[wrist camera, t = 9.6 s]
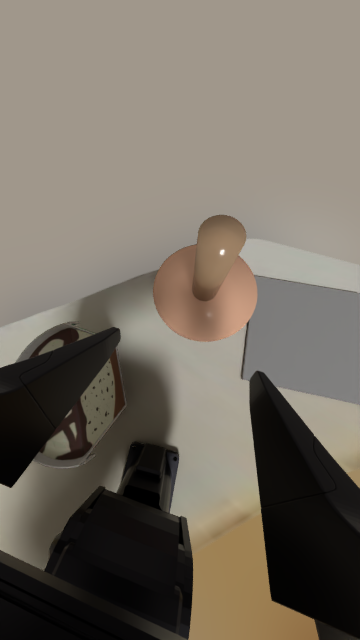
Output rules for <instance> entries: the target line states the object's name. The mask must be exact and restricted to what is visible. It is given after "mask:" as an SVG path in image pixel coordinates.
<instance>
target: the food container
mask: <svg viewBox="0 0 360 640" xmlns="http://www.w3.org/2000/svg"><path fill="white" fill-rule="evenodd" d="M79 323H80V322H67V323H63V324H60V325H57V326H55V327H53V328H51V329H49V330H47V331H45V332H44V333H42V334H41V335H39V336H38V337H37V338H36V339H34V340H33V341H32V342H31V343H30V344H29V345H28V346H27V347H26V348H25V350H24V351H23V352H22V353H21V355H20V356H19V358H18V359H17V361H16V362H15V363H17V362H20V361H23V360H26V359H29V358H32V357H35V356H38V355H41V354H44V353H46V352H49V351H52V350H54V349H57V348H60V347H62V346H65V345H68V344H70V343H73V342H75V341H78V340H81V339H83V338H86V337H89V336H91V335H94V334H96V333H93V332H90V331H87V330H85V329H82V328H79V327H76V326H74V325H76V324H79ZM126 406H127V403H126V397H125V391H124V385H123V379H122V373H121V367H120V361H119V356H118V350H117V347H116V348H115V350H114V352H113V353H112V355H111V357H110V358H109V360H108V361H107V363H106V364H105V365H104V367H103V368H102V369H101V371H100V372H99V373H98V375H97V376H96V377H95V378H94V380H93V381H92V382H91V384H90V385H89V386H88V388H87V389H86V390H85V392H84V393H83V394H82V396H81V397H80V398H79V400H78V401H77V402H76V404H75V405H74V406H73V408H72V409H71V410H70V411H69V413H68V414H67V415H66V417H65V418H64V419H63V421H62V422H61V423H60V425H59V426H58V427H57V429H55V431H54V433H53V434H52V435H51V437H50V438H49V439H48V441H47V442H46V443H45V445H44V446H43V447H42V449H41V450H40V451H39V453H38V454H37V455H36V457H35V458H34V459H33V461H35V462H37V463H39V464H41V465H44V466H47V467H52V468H73V467H78V466H80V465H82V464H86V463H87V462H88V461H90V460H91V459H92V458H94V457H95V456H96V454H91V455H89V454H90V453H91V451H92V450H93V449H94V448H95V446H96V445H97V444H98V442H99V441H100V440H101V439H102V437H103V436H104V435H105V433H106V432H107V431H108V429H109V428H110V427H111V426H112V424H113V423H114V422H115V420H116V419H117V418H118V416H119V415H120V414H121V413H122V411H123V410H124V409H125V407H126Z"/></svg>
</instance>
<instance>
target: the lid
mask: <svg viewBox="0 0 360 640" xmlns="http://www.w3.org/2000/svg"><path fill="white" fill-rule="evenodd" d="M245 241H246V231H245V229H244V227H243V225H242V224H241V223H240V222H239V221H238V220H237V219H235V218H233V217H231V216H227V215H216V216H212V217H210V218H208V219H207V220H205V221H204V222H203V223H202V225H201V226H200V228H199V231H198V239H197V244H196V245H191V246H188V247H185V248H182V249H180V250H178V251H177V252H175V253H173V254H172V255H171V256H170V257H168V259H166V260H165V261H164V263H163V264H162V266H161V267H160V269H159V270H158V272H157V275H156V277H155V281H154V287H153V297H154V302H155V306H156V309H157V311H158V313H159V315H160V316H161V318H162V319H163V321H164V322H165V323H166V325H167V326H168V327H169V328H170V329H172V330H173V331H174V332H175V333H177V334H178V335H180V336H182V337H184V338H187V339H190V340H194V341H200V342H211V341H217V340H221V339H224V338H226V337H229V336H231V335H233V334H235V333H236V332H237V331H239V330H240V329H241V328H242V327H243V326H245V324H246V323H247V322H248V321H249V319H250V318H251V316H252V314H253V312H254V310H255V307H256V303H257V284H256V280H255V277H254V275H253V273H252V271H251V269H250V268H249V266H248V265H247V264H246V262H245V261H244V260H243V259H242V258H241V257H240V256H238V255H239V253H240V251H241V249H242V247H243V246H244V244H245Z"/></svg>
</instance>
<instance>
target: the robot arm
mask: <svg viewBox="0 0 360 640" xmlns="http://www.w3.org/2000/svg"><path fill="white" fill-rule="evenodd" d="M120 338H121V337H120V329H119V328H115V327H113V328H110V329H107V330H105V331H102V332H99V333H97V334H94V335H91V336H89V337H86V338H83V339H81V340H78V341H75V342H73V343H70V344H68V345H65V346H62V347H60V348H57V349H54V350H52V351H49V352H46V353H44V354H41V355H38V356H35V357H32V358H29V359H26V360H23V361H20V362H17V363H14V364H11V365H8V366H4V367H1V368H0V484H2V485H5V486H7V487H10V488H12V486H13V485H14V484H15V483H16V482H17V480H18V479H19V478H20V476H21V475H22V474H23V472H24V471H25V470H26V468H27V467H28V466H29V464H30V463H31V462H32V460H33V459H34V458H35V457H36V455H37V454H38V453H39V451H40V450H41V449H42V447H43V446H44V445H45V443H46V442H47V441H48V439H49V438H50V437H51V435H52V434H53V433H54V431H55V429H57V427H58V426H59V425H60V423H61V422H62V421H63V419H64V418H65V417H66V415H67V414H68V413H69V411H70V410H71V409H72V408H73V406H74V405H75V404H76V402H77V401H78V400H79V398H80V397H81V396H82V394H83V393H84V392H85V390H86V389H87V388H88V386H89V385H90V384H91V382H92V381H93V380H94V378H95V377H96V376H97V375H98V373H99V372H100V371H101V369H102V368H103V367H104V365H105V364H106V363H107V361H108V360H109V358H110V357H111V355H112V353H113V352H114V350H115V348H116V347H117V345H118V343H119V342H120ZM250 415H251V424H252V433H253V441H254V450H255V459H256V468H257V477H258V486H259V495H260V504H261V514H262V522H263V532H264V541H265V550H266V559H267V567H268V575H269V585H270V593H271V599H272V601H274V602H276V603H279V604H281V605H283V606H285V607H287V608H290V609H292V610H294V611H296V612H299V613H301V614H303V615H306V616H308V617H310V618H312V619H314V620H315V624H316V628H317V632H318V637H319V640H360V488H359V487H358V486H357V485H356V484H355V483H354V482H353V480H352V479H351V478H350V477H349V476H348V475H347V474H346V472H345V471H344V470H343V469H342V468H341V467H340V466H339V464H338V463H337V462H336V461H335V460H334V459H333V457H332V456H331V455H330V454H329V453H328V451H327V450H326V449H325V448H324V446H323V445H322V444H321V443H320V442H319V440H318V439H317V438H316V437H315V436H314V434H313V433H312V432H311V430H310V429H309V428H308V427H307V425H306V424H305V423H304V422H303V420H302V419H301V418H300V417H299V415H298V414H297V413H296V412H295V410H294V409H293V408H292V407H291V405H290V404H289V403H288V402H287V400H286V399H285V398H284V397H283V395H282V394H281V393H280V392H279V390H278V389H277V388H276V387H275V386H274V384H273V383H272V382H271V381H270V379H269V378H268V377H267V376H266V374H265V373H264V372H261V371H255V373H254V374H253V375H252V377H251V378H250ZM133 446H135V447H136V448H133ZM175 456H176V457H177V458H176V459H174V457H175ZM178 463H179V454H178V453H177V452H173V451H169V450H166V449H165V448H163V447H159V446H155V445H151V444H142V443H139V442H133V443H132V444H131V446H130V450H129V454H128V458H127V462H126V467H125V471H124V475H123V479H122V483H121V485H120V487H119V489H118V491H117V493H114V492H112V491H109V490H106V489H105V487H103V486H99V487H98V488H97V489H96V491H95V492H94V493H92V495H91V496H90V497H89V498H88V499H87V500H86V501H85V502H84V503H83V504H82V505H81V506H80V508H79V509H78V510H77V511H76V512H75V513H74V514H73V515H72V516H71V517H70V519H69V520H68V522H67V524H66V526H65V528H64V530H63V531H62V532H61V533H60V534H58V535H57V536H56V537H55V539H54V540H53V542H52V544H51V546H50V549H49V561H48V563H47V566H46V568H45V571H43V570H41V569H38V568H36V567H34V566H32V565H30V564H28V563H26V562H24V561H22V560H20V559H18V558H15V557H13V556H11V555H9V554H7V553H5V552H3V551H1V550H0V640H188V638H189V630H190V620H191V608H192V591H193V558H192V550H191V544H190V537H189V531H188V525H187V519H186V518H185V517H182V516H180V517H178V516H175V515H173V514H170V508H171V502H172V497H173V491H174V485H175V480H176V474H177V468H178Z"/></svg>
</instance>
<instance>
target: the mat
mask: <svg viewBox="0 0 360 640" xmlns="http://www.w3.org/2000/svg"><path fill="white" fill-rule="evenodd" d="M254 277H255V280H256V284H257V303H256V307H255V310H254V312H253V314H252V316H251V318H250V319H249V321H248V329H247V337H246V346H245V354H244V363H243V371H242V379H244V380H248V381H250V378H251V377H252V375H253V374H254V373H255V371H261V372H264V373H265V374H266V376H267V377H268V378H269V379H270V381H271V382H272V383H273V384H274V386H276V387H281V388H285V389H290V390H294V391H299V392H304V393H308V394H313V395H317V396H322V397H327V398H331V399H336V400H341V401H345V402H350V403H354V404H359V405H360V293H355V292H349V291H343V290H337V289H331V288H325V287H319V286H313V285H307V284H301V283H295V282H289V281H283V280H277V279H271V278H265V277H259V276H254Z"/></svg>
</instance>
